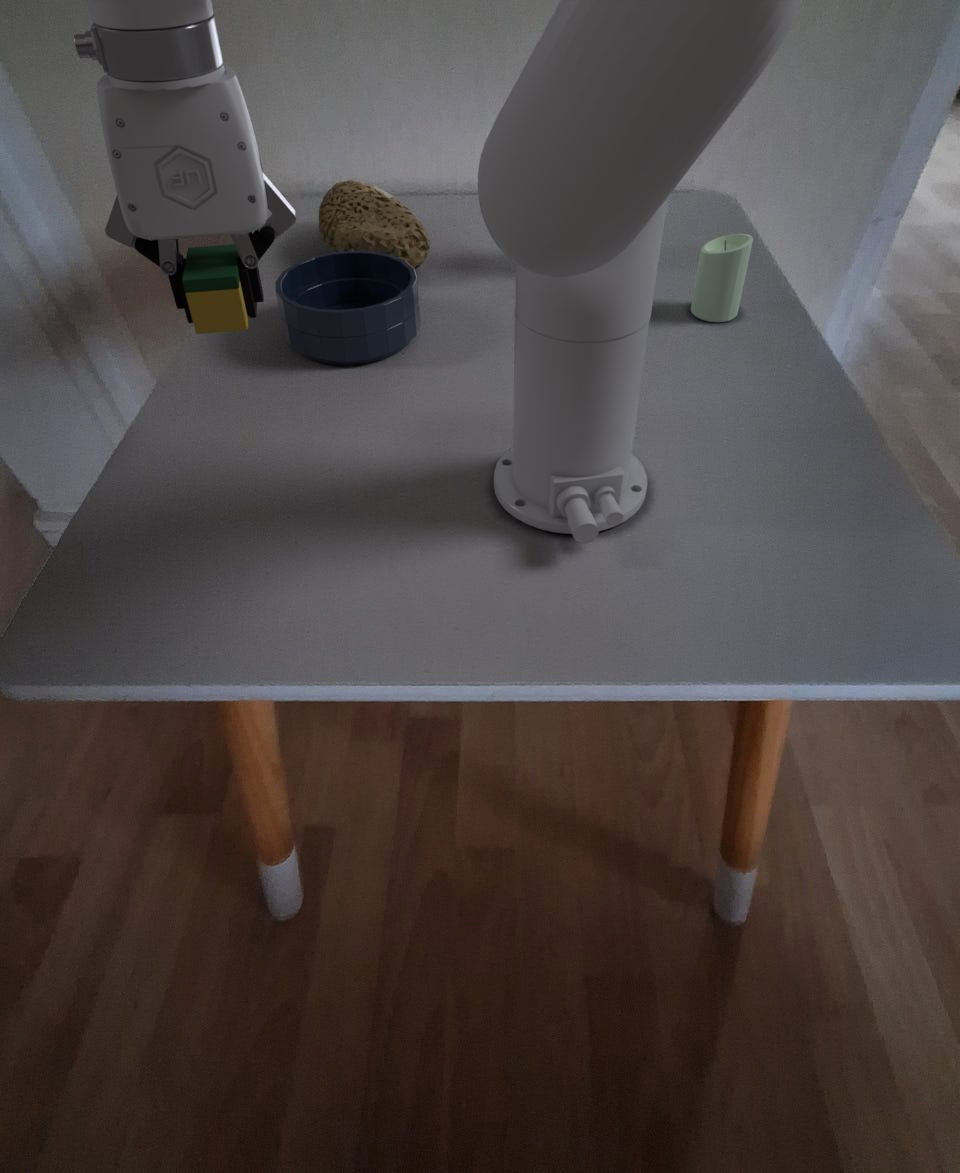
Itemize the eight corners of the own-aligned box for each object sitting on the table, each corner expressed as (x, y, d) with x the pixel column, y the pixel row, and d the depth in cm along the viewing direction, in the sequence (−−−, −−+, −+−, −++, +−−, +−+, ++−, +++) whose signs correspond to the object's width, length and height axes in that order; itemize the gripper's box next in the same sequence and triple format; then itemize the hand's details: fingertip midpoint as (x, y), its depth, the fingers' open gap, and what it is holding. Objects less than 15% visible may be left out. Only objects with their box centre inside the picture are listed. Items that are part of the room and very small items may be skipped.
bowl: (428, 360, 85) (424, 304, 81) (286, 375, 84) (275, 318, 79) (412, 298, 95) (408, 245, 91) (285, 310, 94) (275, 256, 89)
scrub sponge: (248, 330, 66) (236, 275, 63) (196, 334, 66) (181, 280, 63) (249, 295, 70) (238, 243, 67) (200, 299, 70) (187, 247, 67)
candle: (686, 318, 91) (699, 242, 85) (694, 298, 94) (707, 224, 88) (733, 326, 89) (749, 249, 84) (740, 305, 93) (756, 230, 87)
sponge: (319, 237, 111) (312, 270, 94) (321, 172, 107) (315, 194, 90) (418, 250, 113) (429, 284, 96) (424, 187, 109) (437, 211, 92)
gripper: (16, 73, 52) (110, 345, 65) (291, 59, 54) (329, 325, 67) (40, 44, 57) (122, 300, 70) (289, 32, 59) (325, 284, 72)
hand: (223, 310), depth 68 cm, fingers closed on scrub sponge, 4 cm apart
